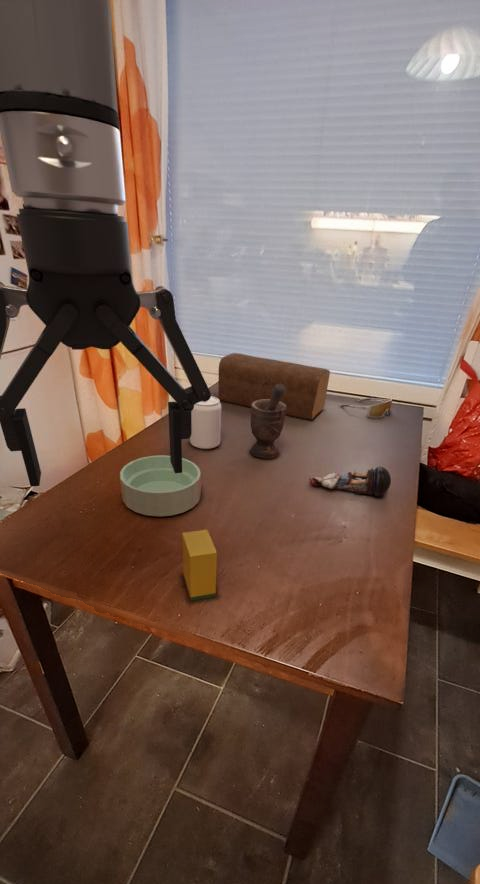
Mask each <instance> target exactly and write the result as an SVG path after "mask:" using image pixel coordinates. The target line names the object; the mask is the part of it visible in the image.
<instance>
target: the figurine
mask: <svg viewBox="0 0 480 884" xmlns="http://www.w3.org/2000/svg"><path fill="white" fill-rule="evenodd" d="M308 480H309V482H310V484H311V485H313V486H315V487H318V486H322V487H324V488H328V489H332V490H333V489H337V490H345V491H351V492H352V491H353V493H354V494H357V495H358V494H360V495H361V494H366V495H370V496H371V495H374V496H375V497H381V496H383V495H385V494H386V493H387V492H388V491H389V489H390V487H391V483H392V478H391V474H390V472H389V471H388V469H386V468H385V467H383V466H380V465H379V466H377V467H375V468H373V467H372V468H370V469H367V470H366V473H362V472H358V471H355V470H352V471H349V472H347V473H345V474H343V475H340V473H337V472H332V473H329V474H326V475H324V476H323V477H320V476H311V477H309V478H308Z"/></svg>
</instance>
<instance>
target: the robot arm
mask: <svg viewBox="0 0 480 884" xmlns="http://www.w3.org/2000/svg"><path fill="white" fill-rule="evenodd" d="M111 9H112V8H111V0H0V140H1V143H2V144H1V145H2V149H3V154H4V158H5V163H6V169H7V174H8V179H9V184H10V189H11V192H12V193H13V194H14V195H15V196H16V197H17V198H22V200H23V203H22V208H18V213H16V219H17V224H18V228H19V234H20V238H21V243H22V248H23V253H24V259H25V264H26V269H27V274H28V285H27V288H25V287H24V288H23V287H16V286H10V285H6V284H4V282H2V281H0V359H1V358H2V354H3V350H4V347H5V343H6V340H7V339H6V338H7V335H8V331H9V328H10V322H11V319H15V318H17V317H18V315H19V314H20V312H21V308H22V307H23V306H28V307H29V309H30V310H31V311H32V312H33V313H34V314H35V315H36V317H38V319H39V320H40V321H41V322H42V323H43V324H44V325H45V327H44V329H43V330H42V332H41V333H40V335H39V336H38V338H37V340H36V341H35V343H34V345H33V346H32V348H31V349H30V351H29V353H28V354H27V356H26V357H25V359H24V360H23V362H22V363H21V364H20V367H19V368H18V369H17V371H16V372H15V374H14V376H13V377H12V379H11V380H10V381H9V383H8V384H7V387H6V388H5V390H4V392H3V393H2V394H1V395H0V428H1V431H2V435H3V438H4V441H5V445H6V447H7V449H8V450H9V451H10V452H21V456H22V460H23V463H24V468H25V471H26V475H27V478H28V482H29V486H30V487H31V488H32V487H34V488H35V487H40V485H41V477H42V469H41V466H40V462H39V457H38V454H37V450H36V446H35V441H34V437H33V433H32V429H31V426H30V421H29V417H28V413H27V410H26V408H25V407H24V408H23V407H21V408H17V407H18V406H19V404H20V403H21V402H22V401H23V398H24V397H25V395H26V394H27V392H28V391H29V390H30V388H31V386H32V385H33V384H34V382H35V380H36V379H37V377H38V376H39V374H40V373H41V371H42V370H43V368H44V366H45V365H46V364H47V362H48V361H49V359H50V358H51V357H52V355H53V354H54V353H55V351H56V350H57V348H58V347H59V346H60V343H61V344H63V345H64V346H66V347H68V348H70V349H71V350H73V351H74V350H75V351H79V350H80V351H82V350H86V349H89V348H95V349H99V350H112V348H114V347H117V345H119V344H120V343H121V344H122V346H124V348H126V350H127V351H128V352H129V353H130V354H131V355H132V356H134V357H135V359H136V360H137V361H138V362H139V363H140V364H141V365H142V367H144V368H145V370H146V371H147V372H148V373H149V374H150V375H151V376H152V378H153V379H155V380H156V382H157V383H158V384H159V385H160V386H161V387H162V388H163V389H164V390H165V392H166V393H168V395H169V396H170V397H171V398H172V399H173V400H174V401H167V413H168V435H169V453H170V454H169V456H170V461H171V464H172V467H173V469H174V472H175V473H182V458H183V446H182V444H183V443H182V441H183V440H190V437H191V434H192V429H191V428H192V425H191V424H192V422H191V411H192V410H193V409H194V405H195V404H196V403H199V402H201V401H203V402H206V401H208V400H209V399H210V397H211V396H212V393H211V391H210V387H208V384H207V382H206V380H205V378H204V376H203V374H202V372H201V369H200V367H199V365H198V364H197V361H196V359H195V357H194V355H193V352H192V350H191V349H190V346H189V345H188V342H187V339H186V338H185V335H184V334H183V332H182V330H181V327H180V325H179V323H178V321H177V316H176V309H175V301H174V295H173V293H172V292H171V291H170V290H169V289H168V288H167V287H165V286H161V285H159V286H157V287H155V289H153V290H152V289H150V290H141V291H137V289H136V287H135V285H134V282H133V275H132V263H131V252H130V251H131V249H130V237H129V225H128V221H126V220H125V216H123V215H119V206H123V205H124V204H125V203H126V202H127V201H126V190H125V177H124V166H123V156H122V142H121V132H120V117H119V116H118V115H119V112H118V99H117V97H118V96H117V82H116V70H115V69H116V67H115V55H114V54H115V53H114V39H113V26H112V25H113V23H112V10H111ZM141 308H144V309H146V310H147V313H148V314H149V316H150V317H151V318H152V319H154V320H158V322H159V325H160V326H161V329H162V331H163V332H164V335H165V336H166V338H167V340H168V343H169V344H170V346H171V348H172V350H173V352H174V354H175V356H176V358H177V360H178V363H179V364H180V367H181V368H182V370H183V372H184V374H185V376H186V378H187V380H188V382H189V384H190V386H188V387H186V388H184V387H183V386H182V385H181V384H180V382H179V381H178V380H177V379H176V378H175V376H173V374H172V373H171V372H170V371H169V370H168V369H167V367H165V365H164V364H163V363H162V362H161V360H160V359H159V358H158V357H157V356H156V355H155V354H154V352H152V351H151V349H150V348H149V347H148V346H147V345H146V343H144V341H143V340H142V339H141V338H140V337H139V335H138V334H137V333H136V332H135V330H134V329H133V328H132V327H131V324H132V323H133V321H134V320H135V318H136V316H137V315H138V313H139V311H140V309H141Z"/></svg>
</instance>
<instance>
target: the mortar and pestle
mask: <svg viewBox="0 0 480 884" xmlns="http://www.w3.org/2000/svg"><path fill="white" fill-rule="evenodd" d="M284 393H285V387H284V385H282V384H276V385H275V387H274V388H273V391H272V394H271V398H270V399H260V400H256V401H254V402H253V403H252V405H251V407H250V429H251V433H252V436H253V437H254V438H255V440H256V442H255V443H253V445H252V446H251V448H250V452H249V453H250V454H251V455H252V456H253V457H256V458H260V459H265V460H272V459H275V458H277V457H278V455H279V448H278V446H277V445H276V444H275V441H276V440H277V439H278V438H280V436H281V434H282V432H283V429H284V425H285V418H286V415H285V413H286V405H285V404H284V403H282V402H280V401H281V399H282V397H283V395H284Z"/></svg>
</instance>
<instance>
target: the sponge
mask: <svg viewBox="0 0 480 884" xmlns="http://www.w3.org/2000/svg"><path fill="white" fill-rule="evenodd" d="M181 538H182V539H181V541H182V542H181V543H182V544H181V546H182V572H183V573H182V575H183V580H184V583H185V587H186V589H187V593H188V596H189V600H190V601H191V602H194V601H199V600H205V599H210V598H216V592H217V563H218V560H217V559H218V552H217V549H216V547H215V545H214V543H213V540H212V538H211V535H210V532H209V530H208V529H202V530H194V531H193V530H192V531H186V532H182V533H181Z"/></svg>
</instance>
